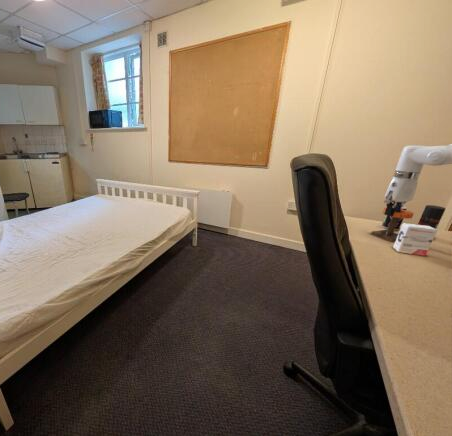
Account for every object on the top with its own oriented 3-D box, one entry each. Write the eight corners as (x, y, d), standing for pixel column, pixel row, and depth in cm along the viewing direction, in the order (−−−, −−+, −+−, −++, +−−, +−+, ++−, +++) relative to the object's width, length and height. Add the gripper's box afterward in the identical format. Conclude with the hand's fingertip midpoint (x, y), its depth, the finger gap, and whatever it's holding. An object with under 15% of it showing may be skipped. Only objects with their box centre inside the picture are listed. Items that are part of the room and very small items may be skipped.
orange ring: (417, 217, 99) (419, 213, 98) (401, 219, 97) (402, 215, 96) (392, 211, 108) (394, 207, 107) (377, 212, 106) (378, 208, 105)
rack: (406, 240, 103) (415, 219, 99) (391, 241, 101) (400, 220, 98) (384, 232, 111) (392, 213, 108) (370, 234, 110) (377, 214, 106)
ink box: (418, 250, 93) (430, 225, 89) (425, 256, 89) (438, 229, 85) (392, 247, 97) (402, 222, 93) (398, 252, 92) (409, 226, 88)
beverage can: (379, 227, 117) (388, 206, 113) (382, 225, 121) (390, 204, 116) (397, 231, 112) (406, 209, 108) (399, 228, 116) (408, 207, 111)
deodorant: (413, 232, 111) (426, 204, 106) (431, 236, 107) (445, 207, 101) (412, 236, 107) (425, 206, 102) (431, 240, 103) (445, 209, 98)
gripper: (402, 177, 90) (386, 219, 97) (431, 176, 93) (414, 216, 100) (381, 174, 97) (368, 214, 103) (409, 173, 100) (394, 211, 106)
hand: (391, 214), depth 101 cm, fingers closed on orange ring, 2 cm apart
